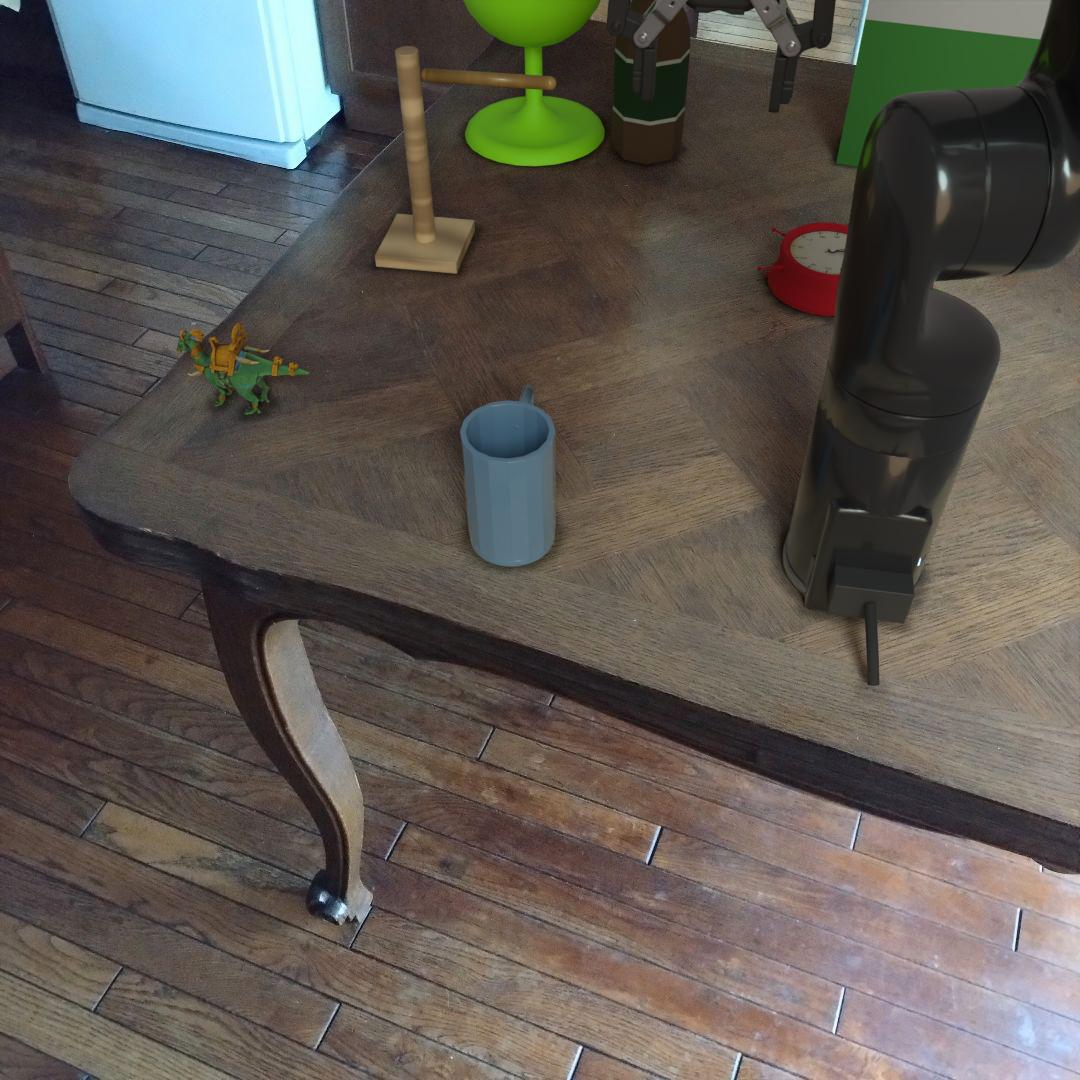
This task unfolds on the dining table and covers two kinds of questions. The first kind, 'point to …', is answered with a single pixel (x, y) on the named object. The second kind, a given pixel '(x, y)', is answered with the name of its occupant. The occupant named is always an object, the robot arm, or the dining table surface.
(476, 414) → the mug
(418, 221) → the mug stand
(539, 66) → the wineglass
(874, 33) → the hardback book
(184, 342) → the figurine
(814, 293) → the alarm clock
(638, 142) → the beer bottle
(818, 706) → the dining table surface
